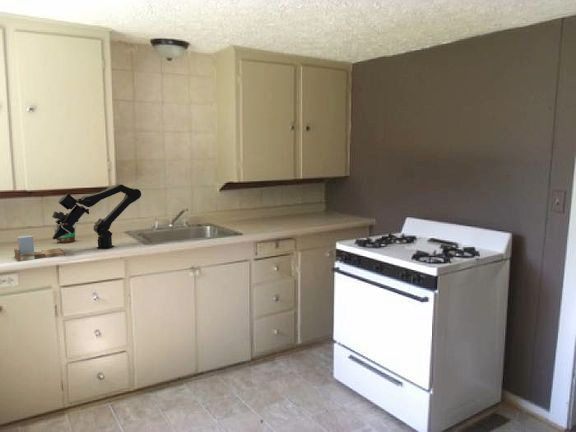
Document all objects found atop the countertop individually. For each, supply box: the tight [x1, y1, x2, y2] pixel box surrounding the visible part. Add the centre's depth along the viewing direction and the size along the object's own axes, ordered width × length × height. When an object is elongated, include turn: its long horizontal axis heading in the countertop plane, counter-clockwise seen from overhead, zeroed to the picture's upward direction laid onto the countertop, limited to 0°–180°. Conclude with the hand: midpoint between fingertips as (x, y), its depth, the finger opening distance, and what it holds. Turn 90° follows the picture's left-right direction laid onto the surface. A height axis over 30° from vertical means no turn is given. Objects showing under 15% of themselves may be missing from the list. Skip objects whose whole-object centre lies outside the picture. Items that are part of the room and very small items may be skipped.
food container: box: [52, 224, 77, 244], centre depth 269 cm, size 12×6×10 cm, turn 126°
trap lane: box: [14, 247, 66, 262], centre depth 236 cm, size 21×12×4 cm, turn 127°
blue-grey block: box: [17, 234, 35, 254], centre depth 232 cm, size 6×5×9 cm
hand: (53, 238), depth 239 cm, fingers closed
